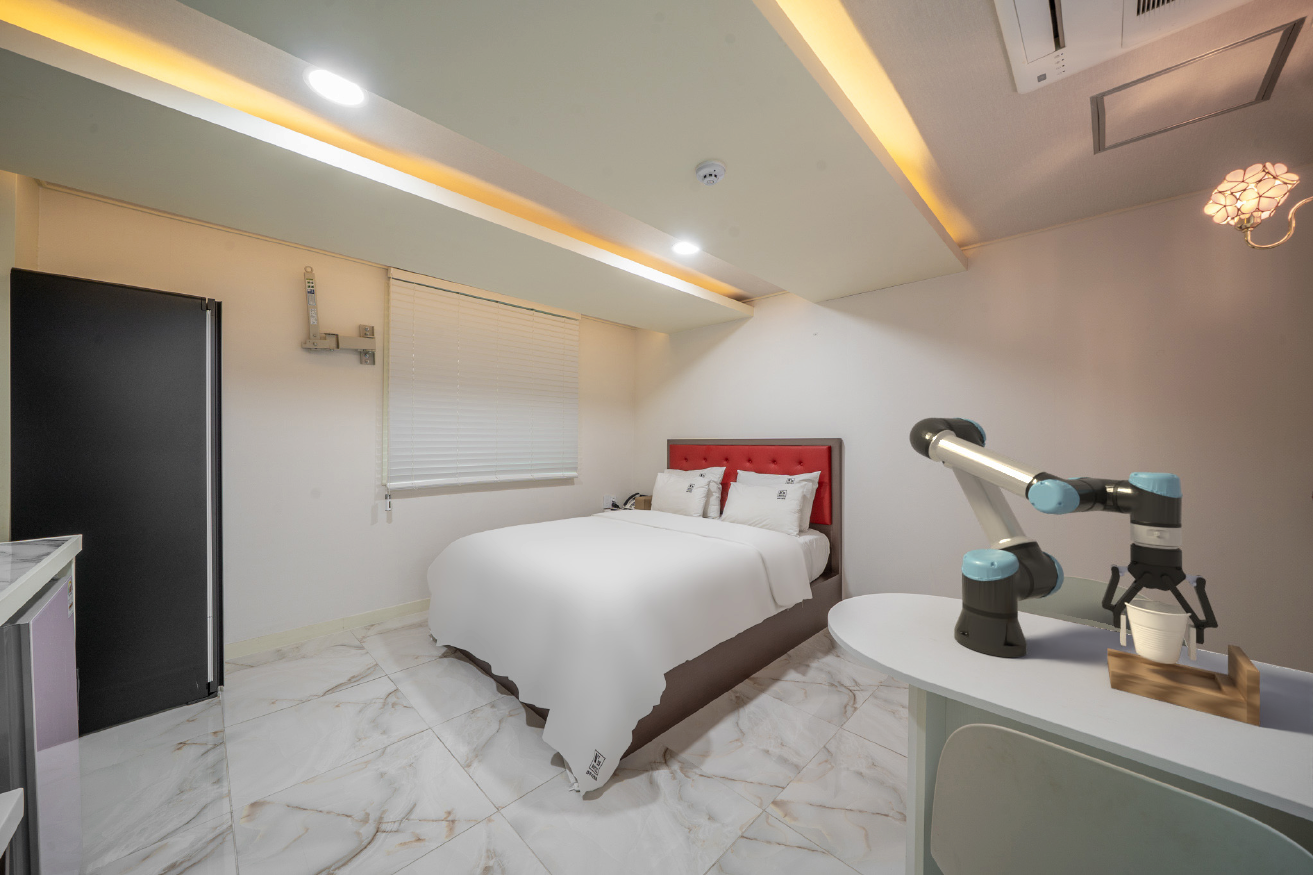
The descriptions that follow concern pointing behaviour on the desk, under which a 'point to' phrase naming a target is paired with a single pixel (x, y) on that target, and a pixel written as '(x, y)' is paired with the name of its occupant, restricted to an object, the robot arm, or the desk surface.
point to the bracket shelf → (1192, 684)
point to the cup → (1157, 629)
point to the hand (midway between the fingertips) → (1156, 650)
